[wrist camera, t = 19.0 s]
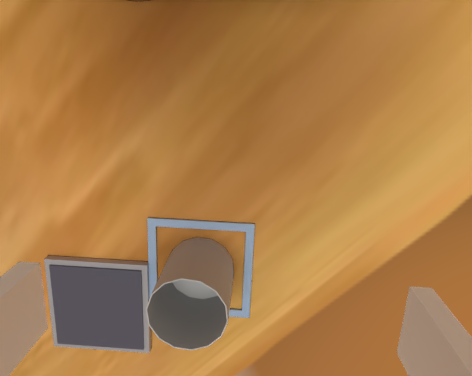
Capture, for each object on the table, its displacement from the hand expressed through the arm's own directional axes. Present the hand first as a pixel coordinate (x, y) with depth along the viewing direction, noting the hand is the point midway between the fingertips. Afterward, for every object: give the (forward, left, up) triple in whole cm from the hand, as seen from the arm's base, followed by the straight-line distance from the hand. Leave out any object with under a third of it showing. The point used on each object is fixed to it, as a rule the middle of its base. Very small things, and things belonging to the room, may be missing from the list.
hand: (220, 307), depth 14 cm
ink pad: (+22, -18, -32) cm, 43 cm away
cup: (+16, -5, -32) cm, 36 cm away
